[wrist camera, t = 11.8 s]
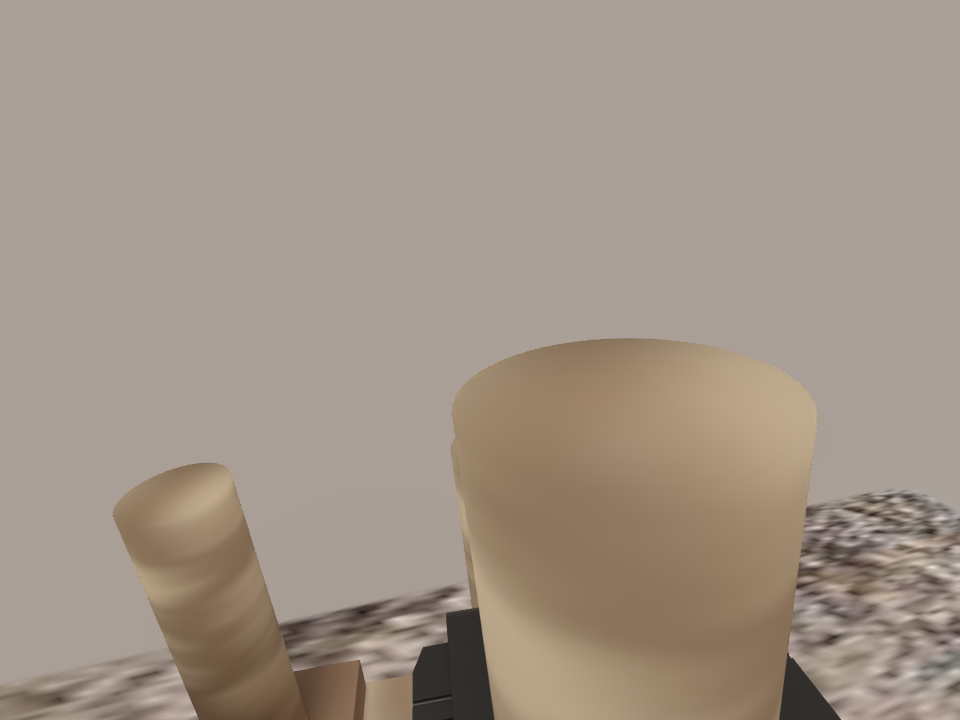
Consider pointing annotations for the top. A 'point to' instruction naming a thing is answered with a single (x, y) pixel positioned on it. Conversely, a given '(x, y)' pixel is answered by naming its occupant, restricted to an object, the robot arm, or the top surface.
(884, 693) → the top surface
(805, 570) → the top surface
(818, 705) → the robot arm
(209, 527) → the stool seat
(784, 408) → the stool leg
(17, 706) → the top surface
